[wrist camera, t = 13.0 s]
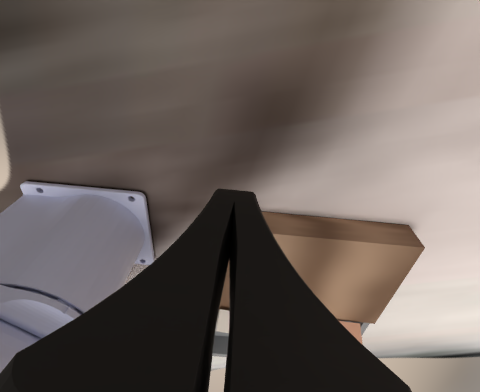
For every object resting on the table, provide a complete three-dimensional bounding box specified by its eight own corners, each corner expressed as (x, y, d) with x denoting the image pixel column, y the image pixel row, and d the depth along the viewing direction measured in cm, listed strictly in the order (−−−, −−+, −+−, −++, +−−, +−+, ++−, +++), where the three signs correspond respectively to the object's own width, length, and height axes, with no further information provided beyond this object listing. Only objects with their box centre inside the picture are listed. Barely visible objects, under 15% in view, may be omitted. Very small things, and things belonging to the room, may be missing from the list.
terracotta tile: (292, 321, 29) (292, 339, 28) (307, 316, 25) (307, 339, 24) (337, 326, 29) (338, 345, 28) (360, 323, 25) (362, 345, 24)
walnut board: (208, 285, 27) (204, 308, 25) (210, 206, 21) (205, 227, 19) (365, 300, 27) (374, 323, 25) (408, 225, 22) (425, 247, 20)
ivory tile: (214, 312, 29) (211, 330, 28) (219, 309, 24) (216, 331, 24) (259, 319, 29) (257, 338, 28) (273, 318, 25) (271, 340, 24)
